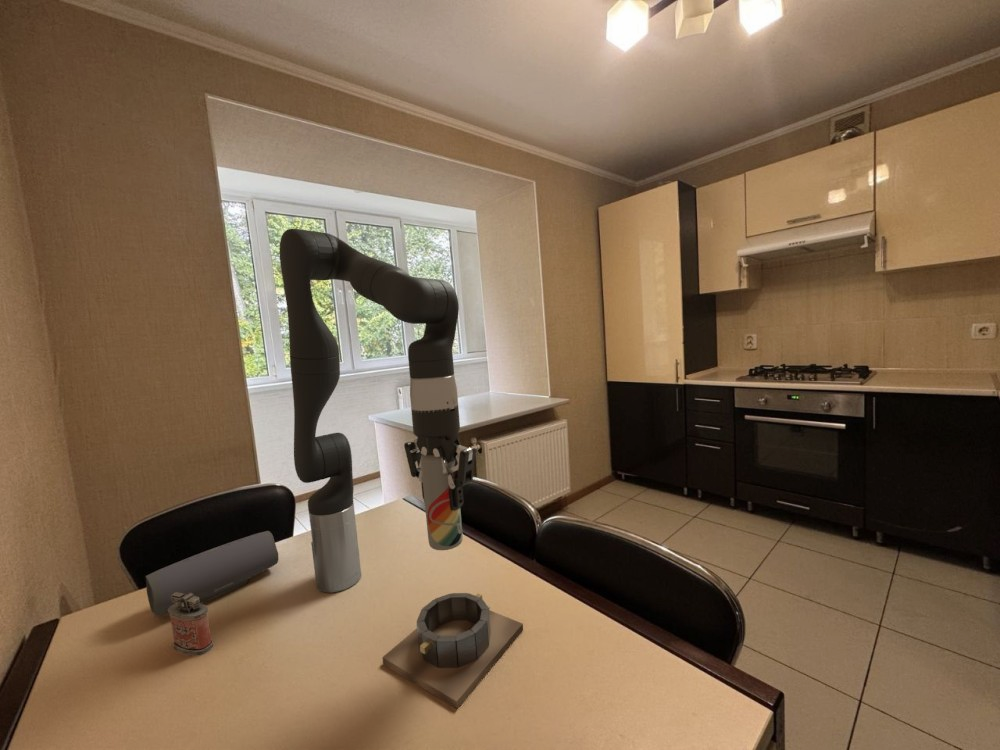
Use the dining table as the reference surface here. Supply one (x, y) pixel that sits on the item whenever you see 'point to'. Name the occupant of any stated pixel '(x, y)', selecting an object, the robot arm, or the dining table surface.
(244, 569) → the bluetooth speaker
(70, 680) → the dining table surface
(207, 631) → the lighter
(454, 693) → the base plate
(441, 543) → the lotion bottle
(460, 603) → the ring
